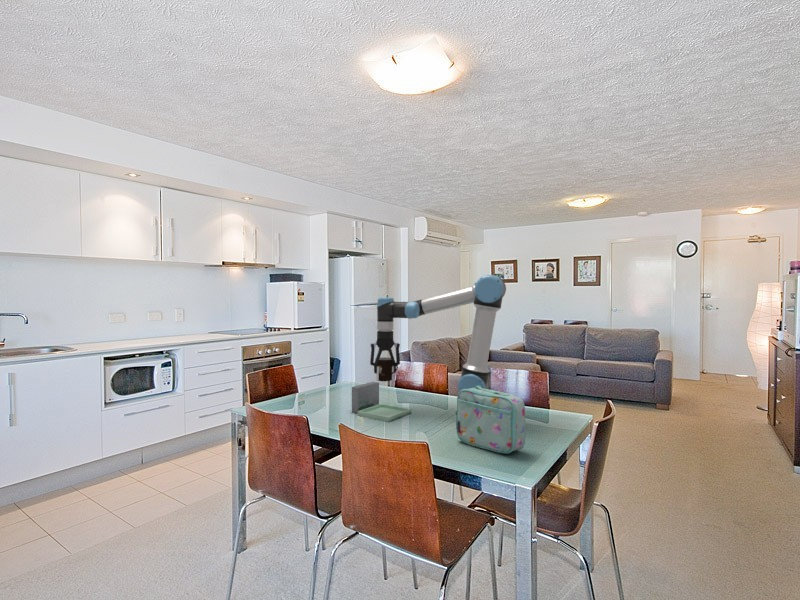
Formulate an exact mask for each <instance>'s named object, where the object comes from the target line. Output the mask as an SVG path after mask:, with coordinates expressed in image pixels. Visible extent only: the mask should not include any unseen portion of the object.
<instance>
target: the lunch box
mask: <svg viewBox="0 0 800 600" xmlns="http://www.w3.org/2000/svg"><path fill="white" fill-rule="evenodd" d="M456 398H457V399H456V405H457V406H456V411H455V414H454V415H455V416H456V421H455V423H456V424H455V426H456V427H455V428H456V433H457V437H458V439H459V441H461V442H462V443H464V444H466V445H469V446H473V447H475V446H476V448H479V449H483V450H487V451H491V452H494V453H499V454H510V453H512V452H516V451H518V450H522V449H523V448H524V446H525V444H526V407H525V402H524V399H522V398H521V397H519V396H518V395H515V394H511V393H507V392H502V391H499V390H493V389H491V390H489V389H483V388H482V387H481V386H475V388H471V389H463V390H461V391H460V392H459V391H458V395H457V397H456Z"/></svg>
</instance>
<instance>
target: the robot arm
mask: <svg viewBox="0 0 800 600" xmlns="http://www.w3.org/2000/svg"><path fill="white" fill-rule="evenodd" d="M506 292H507V286H506V282H504V280H503V278H501V277H499V276H497V275H494V274H484V275H483V276H481V277H479V279H478V280H477V281H476V282H475V283H473V285H472V286H468V287H463V288H459V289H457V290H453V291H449V292H444V293H441V294H437V295H433V296H430V297H429V296H428V297H426V298H422V299H418V300H413V301H394V297H385V296H384V297H379V298H377V305H376V306H377V307H376V310H377V312H376V314H377V315H376V316H377V319H376V320H377V323H376V324H377V325H376V329H377V332H376V338H377V339H376V341H375V342H374V343H370V344H369V345H370V348H371V350H370V358H369V359H370V361H369V362H370V364H369V365H371V366H373V372H374V374H375V375H376V376H375V379H376V382H380V381H379V367H378V366H377V365H378V360H379V359H380V358H381V354H382V352H384V351H385V352H386V351H388V353H389V358H391V359H393V360H392V362H393V363H394V362H395V363H396V364H397V365H398V366H399V365H401V360H400V359H401V358H400V343H398V342H395V341H394V331H393V330H394V319H412V320H413V319H418V318H419V317H421V316H424V315H429V314H432V313H437V312H441V311H445V310H449V309H452V308H453V309H454V308H457V307H461V306H466V305H470V304H473V306H474V307H475V313H474V321H473V325H472V332H471V337H470V342H469V343H470V344H469V349H468V355H467V360H466V363H464V364H463V365H462V369H461V374H460V378H459V379H458V381H457V390H458V391H457V392H458V393H459V392H460V391H461V390H463V389H471V388H475V386H481V387H482V388H483V389H489V390H492V368H491V367H490V366H488V362H489V361H488V360H489V356H490V349H491V344H492V339H493V333H494V326H495V322H496V317H497V312H498V311H500V310H501V308H502V303H503V298H504V296H505V294H506ZM393 346H394V348H395V357H394V354H393V350H392V348H393ZM376 347H378V351H377V354H376V357H375V351H376ZM374 359H376V360H374ZM395 359H396V360H395ZM396 364H393V366H392V372H394V371H395V370H396V368H397V366H396ZM396 372H397V371H396ZM396 372H395V373H396ZM395 373H393V374H392V378H391V381H395V378H394V376H395V375H394V374H395Z"/></svg>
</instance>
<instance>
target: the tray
mask: <svg viewBox="0 0 800 600" xmlns="http://www.w3.org/2000/svg"><path fill="white" fill-rule="evenodd" d="M410 414H412V409H411V408H406V407H402V406H396V405H390V404H384V403H379V405H376V406H373V407H369V408H366V409H363V410H360V411H358V413H357V416H359V417H363V418H367V419H371V420H372V419H373V420H377V421H381V422H387V423H389V422H392V421H395V420H397V419H400V418H402V417H405V416H408V415H410Z"/></svg>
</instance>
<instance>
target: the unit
mask: <svg viewBox="0 0 800 600" xmlns="http://www.w3.org/2000/svg"><path fill="white" fill-rule="evenodd" d="M379 404H380V382H379V381H370V382H366V383H362V384H359V385H355V386H351V413H354V414H358V411H360V410H363V409H366V408H369V407H373V406H376V405H379Z"/></svg>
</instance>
